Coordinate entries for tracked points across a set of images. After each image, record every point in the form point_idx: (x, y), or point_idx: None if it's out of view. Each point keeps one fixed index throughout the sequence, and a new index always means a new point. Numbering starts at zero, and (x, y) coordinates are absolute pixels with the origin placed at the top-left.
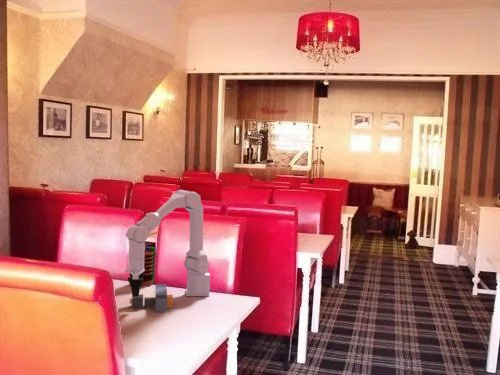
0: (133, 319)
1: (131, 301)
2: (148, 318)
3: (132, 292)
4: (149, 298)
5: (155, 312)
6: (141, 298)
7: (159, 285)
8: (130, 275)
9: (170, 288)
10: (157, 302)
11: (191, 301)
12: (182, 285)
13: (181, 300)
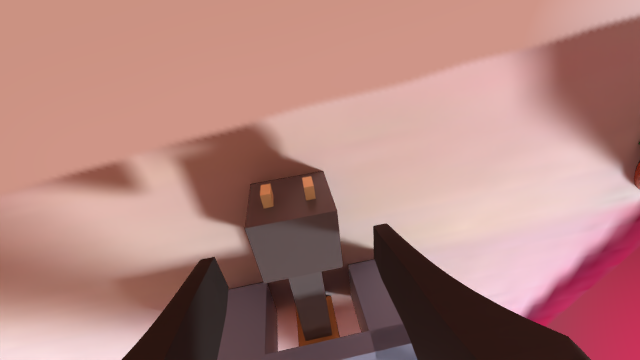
0: (62, 234)
1: (263, 202)
2: (118, 287)
3: (180, 293)
4: (302, 291)
5: None
6: (262, 274)
7: (413, 354)
8: (459, 344)
9: (552, 268)
10: None
11: None
12: (571, 293)
13: None
